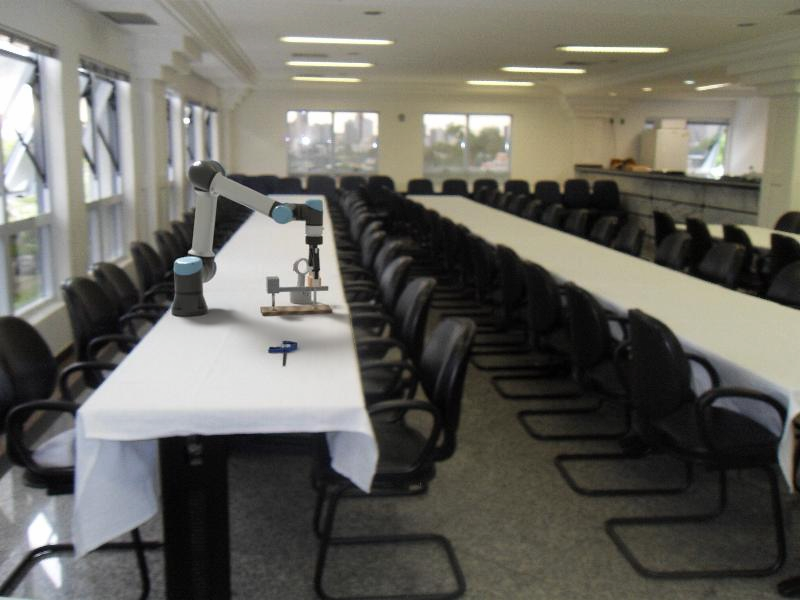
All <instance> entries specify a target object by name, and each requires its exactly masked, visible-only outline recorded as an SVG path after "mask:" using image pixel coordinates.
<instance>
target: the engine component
mask: <svg viewBox="0 0 800 600" xmlns="http://www.w3.org/2000/svg"><path fill="white" fill-rule="evenodd" d="M302 261H303V262H305V263H306V268H305V270H304V271H302V272H301V271H300V270H299V263H301V262H302ZM292 266H293V267H292V271H293V272H295V273H296V274H297V284H296V285H297V286H296V287H305V286H306V275H307V274H309V267H310V266H309V265H308V258H305V257H298V258H297V259H296V260H295V261H294V263H293V265H292ZM289 303H290V304H297V305H303V304H304V305H305V304H310V303H312V291H298V292H289Z"/></svg>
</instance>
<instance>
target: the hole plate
mask: <svg viewBox="0 0 800 600" xmlns="http://www.w3.org/2000/svg"><path fill="white" fill-rule="evenodd" d="M260 313H261V316H262V317H263V316H267V315H268V316H289V315H290V316H292V315H294V316H295V315H321V314H322V315H323V314H324V315H326V314H328V315H329V314H333V308H332V307H331V306H330V305H329V304H316V307H314V304H310V305H307V304H306V305H305V304H304V305H303V304H300V305H275V306H274V310H273V306H272V305H271V306H270V305H269V306H260Z"/></svg>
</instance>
